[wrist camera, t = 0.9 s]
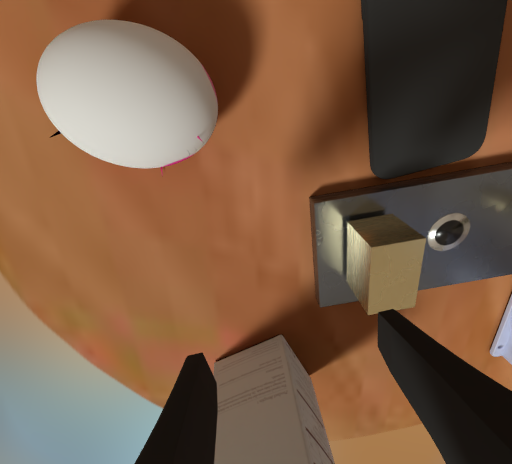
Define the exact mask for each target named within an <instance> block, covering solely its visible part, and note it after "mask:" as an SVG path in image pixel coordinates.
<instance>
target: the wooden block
mask: <svg viewBox="0 0 512 464" xmlns="http://www.w3.org/2000/svg"><path fill="white" fill-rule="evenodd" d="M425 243H426V238H425V237H424V236H423V235H421V234H420V233H418V232H417V231H416V230H414V229H413V228H411V227H410V226H409V225H407V224H406V223H405V222H403V221H402V220H400V219H399V218H398V217H396V216H395V215H393V214H387V215H382V216H376V217H370V218H364V219H359V220H353V221H347V283H348V285H349V286H350V288H351V289H352V291H353V293H354V294H355V296H356V297H357V299H358V301H359V302H360V304H361V305H362V307H363V309H364V310H365V312H366V313H367V315H372V314H378V312H381V311H385V310H390V309H394V310H401V309H406V308H412V307H415V303H416V297H417V291H418V285H419V279H420V273H421V267H422V261H423V255H424V249H425Z"/></svg>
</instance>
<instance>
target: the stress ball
mask: <svg viewBox="0 0 512 464" xmlns="http://www.w3.org/2000/svg"><path fill="white" fill-rule="evenodd" d="M37 90H38V94H39V98H40V101H41V104H42V106H43V108H44V110H45V112H46V114H47V116H48V117H49V119H50V120H51V122H52V123H53V124H54V125H55V127H56V128H57V129H58V130H59V131H58V132H56V133H55V134H54V135H52V136H51V137H53V136H55V135H58V134H60V133H62V134H63V135H64V136H65V137H66V138H67V139H68V140H69V141H71V142H72V143H73V144H74V145H76V146H77V147H79V148H80V149H82V150H83V151H85V152H87V153H89V154H90V155H92V156H95V157H97V158H99V159H101V160H104V161H107V162H110V163H113V164H116V165H121V166H125V167H132V168H158V167H161V172H162V167H165V166H169V165H173V164H176V163H178V162H181V161H183V160H185V159H187V158H189V157H191V156H192V155H194V154H195V153H196V152H198V151H199V150H200V149H201V148H202V147H203V146H204V145H205V144H206V142H207V141H208V140H209V138H210V137H211V135H212V133H213V131H214V128H215V126H216V122H217V117H218V101H217V95H216V91H215V88H214V85H213V83H212V81H211V79H210V76H209V75H208V73H207V71H206V70H205V68H204V67H203V65H202V64H201V63H200V62H199V60H198V59H197V58H196V57H195V56H194V55H193V54H192V53H191V52H190V51H189V50H188V49H187V48H185V47H184V46H183V45H182V44H180V43H179V42H178V41H176V40H175V39H173V38H171V37H170V36H168V35H166V34H164V33H162V32H160V31H158V30H156V29H153V28H151V27H148V26H145V25H142V24H138V23H134V22H129V21H122V20H97V21H90V22H86V23H82V24H79V25H76V26H74V27H71V28H69V29H68V30H66V31H64V32H63V33H61V34H59V35H58V36H57V37H56V38H55V39H54V40H53V41H52V42H51V43H50V44H49V45H48V46H47V48H46V49H45V51H44V53H43V54H42V56H41V58H40V61H39V65H38V69H37ZM162 177H163V176H162Z"/></svg>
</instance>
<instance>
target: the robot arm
mask: <svg viewBox="0 0 512 464" xmlns="http://www.w3.org/2000/svg"><path fill="white" fill-rule="evenodd" d="M378 348H379V350H380V352H381V354H382V356H383V358H384V360H385V362H386V364H387V366H388V368H389V370H390V372H391V374H392V375H393V377H394V379H395V380H396V382H397V383H398V385H399V387H400V388H401V390H402V391H403V393H404V395H405V396H406V398H407V399H408V401H409V402H410V404H411V406H412V407H413V409H414V410H415V412H416V414H417V415H418V417H419V418H420V420H421V421H422V423H423V425H424V426H425V428H426V429H427V431H428V432H429V434H430V435H431V437H432V439H433V441H434V442H435V444H436V446H437V448H438V449H439V451H440V453H441V455H442V457H443V459H444V461H445V462H446V464H512V391H511V390H509V389H507V388H506V387H504V386H502V385H501V384H499V383H497V382H496V381H494V380H493V379H491V378H489V377H488V376H486V375H485V374H483V373H482V372H480V371H479V370H477V369H476V368H474V367H473V366H471V365H469V364H468V363H467V362H465V361H464V360H462V359H461V358H459V357H458V356H456V355H455V354H453V353H452V352H451V351H449V350H448V349H446V348H445V347H444V346H442V345H441V344H439V343H438V342H437V341H435V340H434V339H433V338H431V337H430V336H428V335H427V334H426V333H424V332H423V331H422V330H420V329H419V328H418V327H417V326H415V325H414V324H413V323H411V322H410V321H409V320H407V319H406V318H405V317H404V316H402V315H401V314H400V313H398V312H397V311H396V310H394V309H390V310H385V311H381V312H378ZM490 354H491V355H492V356H494V357H497V356H503V357H504V358H505V359H506V360H507V361H508V362H509V363H510V364H511V365H512V295H511V297H510V300H509V303H508V305H507V308H506V310H505V313H504V316H503V318H502V321H501V323H500V326H499V329H498V331H497V334H496V336H495V339H494V342H493V344H492V347H491V349H490ZM217 415H218V402H217V382H216V380H215V378H214V376H213V374H212V372H211V370H210V367H209V365H208V363H207V361H206V359H205V357H204V355H203V353H198V354H194V355H189V356H187V358H186V360H185V362H184V364H183V367H182V369H181V371H180V374H179V376H178V378H177V381H176V383H175V385H174V387H173V389H172V392H171V394H170V396H169V398H168V400H167V402H166V404H165V406H164V409H163V411H162V413H161V415H160V417H159V419H158V421H157V423H156V425H155V427H154V429H153V430H152V432H151V434H150V436H149V438H148V440H147V442H146V444H145V446H144V448H143V450H142V451H141V453H140V455H139V457H138V458H137V460H136V462H135V464H214V458H215V444H216V430H217Z"/></svg>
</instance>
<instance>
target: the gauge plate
mask: <svg viewBox="0 0 512 464" xmlns="http://www.w3.org/2000/svg"><path fill="white" fill-rule="evenodd" d="M309 199H310V215H311V231H312V246H313V262H314V278H315V293H316V299H317V302H318V304H319V306H320V307H326V306H332V305H337V304H343V303H349V302H355V301H358V299H357V297H356V296H355V294H354V293H353V291H352V289H351V288H350V286H349V285H348V283H347V221H353V220H359V219H364V218H370V217H376V216H382V215H387V214H393V215H395V216H396V217H398V218H399V219H400V220H402V221H403V222H405V223H406V224H407V225H409V226H410V227H411V228H413V229H414V230H416V231H417V232H418V233H420V234H421V235H423V236H424V237H425V238H426V243H425V249H424V255H423V261H422V267H421V273H420V279H419V285H418V290H423V289H429V288H435V287H441V286H446V285H452V284H458V283H464V282H469V281H475V280H481V279H487V278H492V277H498V276H504V275H510V274H512V162H509V163H503V164H497V165H491V166H486V167H480V168H474V169H468V170H463V171H457V172H451V173H446V174H440V175H434V176H428V177H423V178H417V179H411V180H405V181H400V182H394V183H388V184H382V185H377V186H371V187H365V188H360V189H354V190H348V191H342V192H337V193H331V194H325V195H319V196H314V197H309Z"/></svg>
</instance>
